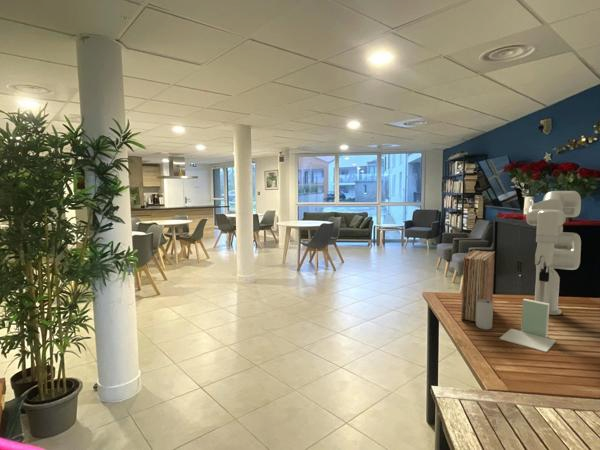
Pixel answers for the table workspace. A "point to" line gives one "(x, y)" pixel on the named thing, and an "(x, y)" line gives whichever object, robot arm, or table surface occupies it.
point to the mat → (528, 340)
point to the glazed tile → (535, 317)
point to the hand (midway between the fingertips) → (543, 280)
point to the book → (477, 281)
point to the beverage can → (484, 314)
